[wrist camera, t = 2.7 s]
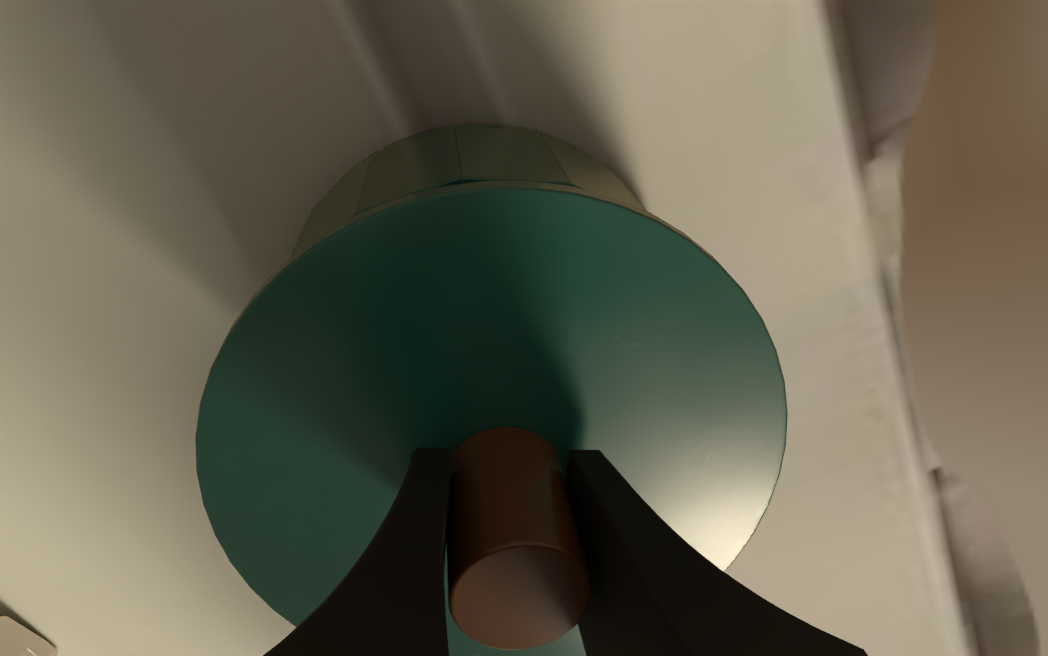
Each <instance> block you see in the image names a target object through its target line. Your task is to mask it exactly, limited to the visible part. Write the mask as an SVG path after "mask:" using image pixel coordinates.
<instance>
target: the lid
mask: <svg viewBox="0 0 1048 656" xmlns="http://www.w3.org/2000/svg"><path fill="white" fill-rule="evenodd" d="M786 431H787V403H786V392H785V382H784V378H783V374H782V370H781V366H780V363H779V359H778V355H777V351H776V348H775V346H774V344H773V342H772V339H771V337H770V335H769V333H768V330H767V328H766V326H765V324H764V321H763V319H762V318H761V316H760V315H759V313H758V312H757V310H756V309H755V307H754V305H753V304H752V302H751V301H750V299H749V298H748V296H747V295H746V293H745V292H744V290H743V289H742V288H741V287H740V286H739V285H738V284H737V283H736V281H735V280H734V279H733V278H732V277H731V276H730V275H729V274H728V273H727V271H726V270H725V269H724V268H723V267H722V266H721V265H720V264H719V263H718V262H717V260H716V259H715V258H714V257H713V256H712V255H710V254H709V253H708V252H707V251H706V250H704V249H703V248H702V247H701V246H699V245H698V244H697V243H696V242H694V241H693V240H692V239H691V238H690V237H688V236H687V235H686V234H685V233H683V232H682V231H680V230H678V229H677V228H675V227H673V226H672V225H670V224H668V223H666V222H665V221H663V220H661V219H660V218H658V217H656V216H655V215H653V214H651V213H649V212H647V211H645V210H642V209H640V208H637V207H635V206H633V205H630V204H628V203H625V202H623V201H621V200H618V199H616V198H613V197H610V196H606V195H603V194H599V193H595V192H591V191H587V190H583V189H580V188H576V187H572V186H565V185H557V184H549V183H541V182H533V181H480V182H473V183H466V184H458V185H451V186H444V187H437V188H434V189H430V190H426V191H422V192H419V193H415V194H411V195H408V196H404V197H400V198H396V199H394V200H391V201H389V202H386V203H384V204H381V205H379V206H377V207H374V208H372V209H369V210H367V211H365V212H362V213H360V214H357V215H355V216H353V217H351V218H350V219H348V220H346V221H344V222H343V223H341V224H339V225H337V226H336V227H334V228H332V229H331V230H329V231H327V232H325V233H324V234H322V235H320V236H319V237H317V238H315V239H314V240H313V241H312V242H310V243H309V244H308V245H306V246H305V247H304V248H303V249H301V250H300V251H299V252H298V253H296V254H295V255H294V256H292V257H291V258H290V259H289V260H287V261H286V262H285V263H283V264H282V265H281V266H280V268H279V269H278V270H277V271H276V272H275V273H274V274H273V275H272V276H271V277H270V278H269V279H268V280H267V281H266V282H265V283H264V284H263V285H262V286H261V287H260V288H259V289H258V290H257V292H256V293H255V294H254V295H253V297H252V298H251V299H250V301H249V302H248V304H247V305H246V307H245V308H244V309H243V311H242V312H241V314H240V315H239V316H238V318H237V319H236V321H235V322H234V324H233V325H232V327H231V329H230V331H229V333H228V334H227V336H226V338H225V340H224V343H223V345H222V347H221V349H220V351H219V353H218V355H217V357H216V359H215V361H214V363H213V365H212V367H211V369H210V372H209V376H208V379H207V382H206V385H205V389H204V392H203V395H202V398H201V402H200V408H199V415H198V422H197V430H196V466H197V475H198V480H199V485H200V490H201V495H202V500H203V504H204V507H205V510H206V512H207V515H208V518H209V520H210V523H211V525H212V528H213V531H214V533H215V536H216V537H217V539H218V541H219V543H220V544H221V546H222V548H223V550H224V551H225V553H226V555H227V557H228V558H229V560H230V562H231V563H232V565H233V566H234V567H235V568H236V570H237V571H238V572H239V574H240V575H241V576H242V577H243V579H244V580H245V581H246V583H247V584H248V585H249V586H250V588H251V589H252V590H253V591H254V592H255V593H257V594H258V595H259V596H260V597H261V598H262V599H263V600H264V601H265V602H266V603H267V604H268V605H269V606H270V607H271V608H272V609H273V610H274V611H276V612H277V613H278V614H280V615H281V616H282V617H284V618H285V619H286V620H288V621H289V622H290V623H292V624H293V625H294V626H296V627H298V626H299V625H300V624H301V623H302V622H303V621H304V620H305V619H306V618H307V617H308V616H309V615H310V614H311V613H312V612H314V611H315V610H316V609H317V608H318V607H319V606H320V605H321V603H322V602H323V601H324V600H325V599H326V598H327V597H328V596H329V595H330V594H331V592H332V591H333V590H334V589H335V588H336V587H337V585H338V584H339V583H340V582H341V581H342V580H343V579H344V577H345V576H346V575H347V574H348V572H349V571H350V570H351V568H352V567H353V566H354V565H355V563H356V562H357V561H358V559H359V558H360V557H361V555H362V554H363V552H364V551H365V549H366V548H367V546H368V545H369V544H370V542H371V540H372V539H373V537H374V536H375V534H376V532H377V531H378V529H379V527H380V526H381V524H382V522H383V521H384V519H385V517H386V516H387V514H388V512H389V510H390V508H391V506H392V504H393V502H394V500H395V498H396V496H397V494H398V492H399V490H400V488H401V486H402V483H403V481H404V478H405V476H406V473H407V470H408V467H409V464H410V460H411V454H412V452H413V451H415V450H416V449H417V448H449V454H450V464H451V474H450V492H449V509H448V522H447V535H446V539H447V543H446V561H445V578H444V590H445V608H446V622H447V637H448V648H449V656H586V653H585V649H584V645H583V642H582V638H581V634H580V631H579V627H578V622H579V621H580V620H581V619H582V617H583V616H584V614H585V612H586V611H587V608H588V606H589V603H590V599H591V595H592V581H591V578H590V574H589V570H588V566H587V562H586V558H585V554H584V550H583V546H582V542H581V538H580V535H579V531H578V527H577V523H576V519H575V515H574V511H573V507H572V503H571V499H570V496H569V492H568V488H567V484H566V480H565V479H566V472H567V465H568V458H569V450H570V449H571V450H600V451H601V452H602V453H603V454H604V456H605V457H606V458H607V459H608V460H609V461H610V462H611V464H612V465H613V466H614V467H615V468H616V469H617V470H618V472H619V473H620V474H621V475H622V476H623V477H624V479H625V480H626V481H627V482H628V483H629V484H630V485H631V487H632V488H633V489H634V490H635V491H636V492H637V493H638V494H639V495H640V497H641V498H642V499H643V500H644V501H645V502H646V503H647V504H648V505H649V506H650V507H651V508H652V509H653V510H654V511H655V512H656V513H657V515H658V516H659V517H660V518H661V519H662V520H664V521H665V522H666V523H667V524H668V525H669V526H670V527H671V528H672V529H673V530H674V531H675V532H676V533H677V534H678V535H679V536H681V537H682V538H683V539H684V540H685V541H686V542H687V543H688V544H689V545H691V546H692V547H693V548H694V549H695V550H697V551H698V552H699V553H700V554H701V555H703V556H704V557H705V558H707V559H708V560H709V561H710V562H712V563H713V564H714V565H715V566H717V567H718V568H719V569H721V570H722V571H723V572H724V571H725V570H726V569H727V568H728V567H729V566H730V564H731V563H732V562H733V561H734V560H735V559H736V558H737V556H738V555H739V553H740V552H741V551H742V549H743V548H744V546H745V545H746V543H747V542H748V540H749V539H750V537H751V536H752V535H753V533H754V532H755V530H756V528H757V526H758V524H759V522H760V520H761V518H762V516H763V514H764V513H765V511H766V509H767V507H768V505H769V502H770V500H771V497H772V494H773V491H774V489H775V486H776V483H777V480H778V478H779V474H780V470H781V465H782V460H783V455H784V451H785V446H786Z"/></svg>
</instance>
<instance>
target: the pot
mask: <svg viewBox="0 0 1048 656" xmlns="http://www.w3.org/2000/svg"><path fill="white" fill-rule="evenodd" d="M480 181H533V182H541V183H549V184H557V185H565V186H572V187H576V188H580V189H583V190H587V191H591V192H595V193H599V194H603V195H606V196H610V197H613V198H616V199H618V200H621V201H623V202H625V203H628V204H630V205H633V206H635V207H637V208H640V209H642V210H645V209H644V207H643V206H642V205H641V204H640V203H639V201H638V200H637V199H636V198H635V197H634V195H633V194H632V193H631V192H630V191H629V189H628V188H627V187H626V186H625V185H624V183H623V182H622V181H621V180H620V178H619V177H618V176H617V175H616V174H615V172H614V171H613V170H612V169H611V168H609V167H608V166H606V165H604V164H602V163H600V162H599V161H597V160H595V159H594V158H593V157H591V156H589V155H588V154H586V153H584V152H583V151H581V150H579V149H578V148H576V147H574V146H573V145H571V144H568V143H566V142H564V141H561V140H559V139H557V138H554V137H552V136H550V135H547V134H544V133H542V132H538V131H533V130H529V129H525V128H521V127H513V126H506V125H499V124H464V125H456V126H449V127H441V128H437V129H433V130H430V131H426V132H422V133H418V134H415V135H412V136H410V137H407V138H405V139H403V140H400V141H398V142H395V143H393V144H391V145H388V146H387V147H385V148H383V149H382V150H380V151H377V152H375V153H374V154H372V155H370V156H369V157H368V158H366V159H365V160H364V161H362V162H361V163H360V164H359V165H357V166H356V167H355V168H353V169H352V170H351V171H350V172H348V173H347V174H346V175H345V176H344V177H343V178H342V179H341V180H340V181H339V182H338V183H337V184H336V185H335V186H334V187H333V188H332V189H331V190H330V191H329V193H328V194H327V195H326V196H325V197H324V198H323V199H322V200H321V201H320V202H319V203H318V204H317V205H316V206H315V207H314V209H313V210H312V211H311V213H310V215H309V218H308V220H307V222H306V224H305V227H304V229H303V231H302V233H301V235H300V238H299V240H298V242H297V244H296V247H295V249H294V251H293V253H292V256H294V255H295V254H296V253H298V252H299V251H300V250H301V249H303V248H304V247H305V246H306V245H308V244H309V243H310V242H312V241H313V240H314V239H315V238H317V237H319V236H320V235H322V234H324V233H325V232H327V231H329V230H331V229H332V228H334V227H336V226H337V225H339V224H341V223H343V222H344V221H346V220H348V219H350V218H351V217H353V216H355V215H357V214H360V213H362V212H365V211H367V210H369V209H372V208H374V207H377V206H379V205H381V204H384V203H386V202H389V201H391V200H394V199H396V198H400V197H404V196H408V195H411V194H415V193H419V192H422V191H426V190H430V189H434V188H437V187H444V186H451V185H458V184H466V183H473V182H480ZM645 211H646V210H645ZM292 256H291V257H292Z"/></svg>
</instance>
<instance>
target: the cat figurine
mask: <svg viewBox="0 0 1048 656" xmlns="http://www.w3.org/2000/svg"><path fill="white" fill-rule="evenodd" d="M57 654H58V651H57V650H56V649H55V648H54V647H53V646H52V645H50V644H49V643H48V642H47V641H46V640H44V639H43V638H41V637H40V636H38V635H36V634H35V633H33V632H32V631H30V630H28V629H27V628H25V627H24V626H22V625H20V624H19V623H17V622H16V621H14V620H12V619H11V618H9V617H8V616H0V656H57Z"/></svg>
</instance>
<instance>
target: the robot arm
mask: <svg viewBox="0 0 1048 656" xmlns="http://www.w3.org/2000/svg"><path fill="white" fill-rule="evenodd" d="M450 474H451V464H450V454H449V448H417V449H416V450H415V451H413V452H412V454H411V460H410V464H409V467H408V470H407V473H406V476H405V478H404V481H403V483H402V486H401V488H400V490H399V492H398V494H397V496H396V498H395V500H394V502H393V504H392V506H391V508H390V510H389V512H388V514H387V516H386V517H385V519H384V521H383V522H382V524H381V526H380V527H379V529H378V531H377V532H376V534H375V536H374V537H373V539H372V540H371V542H370V544H369V545H368V546H367V548H366V549H365V551H364V552H363V554H362V555H361V557H360V558H359V559H358V561H357V562H356V563H355V565H354V566H353V567H352V568H351V570H350V571H349V572H348V574H347V575H346V576H345V577H344V579H343V580H342V581H341V582H340V583H339V584H338V585H337V587H336V588H335V589H334V590H333V591H332V592H331V594H330V595H329V596H328V597H327V598H326V599H325V600H324V601H323V602H322V603H321V605H320V606H319V607H318V608H317V609H316V610H315V611H314V612H312V613H311V614H310V615H309V616H308V617H307V618H306V619H305V620H304V621H303V622H302V623H301V624H300V625H299V626H298V627H297V628H296V629H294V630H293V631H292V632H291V633H290V634H289V635H288V636H287V637H286V638H285V639H283V640H282V641H281V642H280V643H279V644H277V645H276V646H275V647H273V648H272V649H271V650H270V651H268V652H267V653H266V654H264V655H263V656H449V648H448V637H447V622H446V608H445V590H444V578H445V561H446V543H447V539H446V535H447V522H448V509H449V492H450ZM565 480H566V484H567V488H568V492H569V496H570V499H571V503H572V507H573V511H574V515H575V519H576V523H577V527H578V531H579V535H580V538H581V542H582V546H583V550H584V554H585V558H586V562H587V566H588V570H589V574H590V578H591V581H592V595H591V599H590V603H589V606H588V608H587V611H586V612H585V614H584V616H583V617H582V619H581V620H580V621H579V622H578V627H579V631H580V634H581V638H582V642H583V645H584V649H585V653H586V656H868V655H867V654H866V652H865V651H864V649H861V648H859V647H857V646H855V645H853V644H850V643H848V642H846V641H844V640H842V639H839V638H837V637H835V636H833V635H831V634H829V633H826V632H824V631H822V630H820V629H818V628H815V627H813V626H812V625H810V624H808V623H806V622H804V621H802V620H800V619H798V618H797V617H795V616H793V615H791V614H789V613H787V612H786V611H784V610H782V609H780V608H778V607H777V606H775V605H773V604H772V603H770V602H768V601H767V600H765V599H763V598H762V597H760V596H759V595H757V594H756V593H754V592H753V591H751V590H750V589H748V588H746V587H745V586H743V585H742V584H740V583H739V582H737V581H736V580H734V579H733V578H732V577H730V576H729V575H727V574H726V573H725V572H723V571H722V570H721V569H719V568H718V567H717V566H715V565H714V564H713V563H712V562H710V561H709V560H708V559H707V558H705V557H704V556H703V555H701V554H700V553H699V552H698V551H697V550H695V549H694V548H693V547H692V546H691V545H689V544H688V543H687V542H686V541H685V540H684V539H683V538H682V537H681V536H679V535H678V534H677V533H676V532H675V531H674V530H673V529H672V528H671V527H670V526H669V525H668V524H667V523H666V522H665V521H664V520H662V519H661V518H660V517H659V516H658V515H657V513H656V512H655V511H654V510H653V509H652V508H651V507H650V506H649V505H648V504H647V503H646V502H645V501H644V500H643V499H642V498H641V497H640V495H639V494H638V493H637V492H636V491H635V490H634V489H633V488H632V487H631V485H630V484H629V483H628V482H627V481H626V480H625V479H624V477H623V476H622V475H621V474H620V473H619V472H618V470H617V469H616V468H615V467H614V466H613V465H612V464H611V462H610V461H609V460H608V459H607V458H606V457H605V456H604V454H603V453H602V452H601V451H600V450H571V449H570V450H569V458H568V465H567V472H566V479H565Z"/></svg>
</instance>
